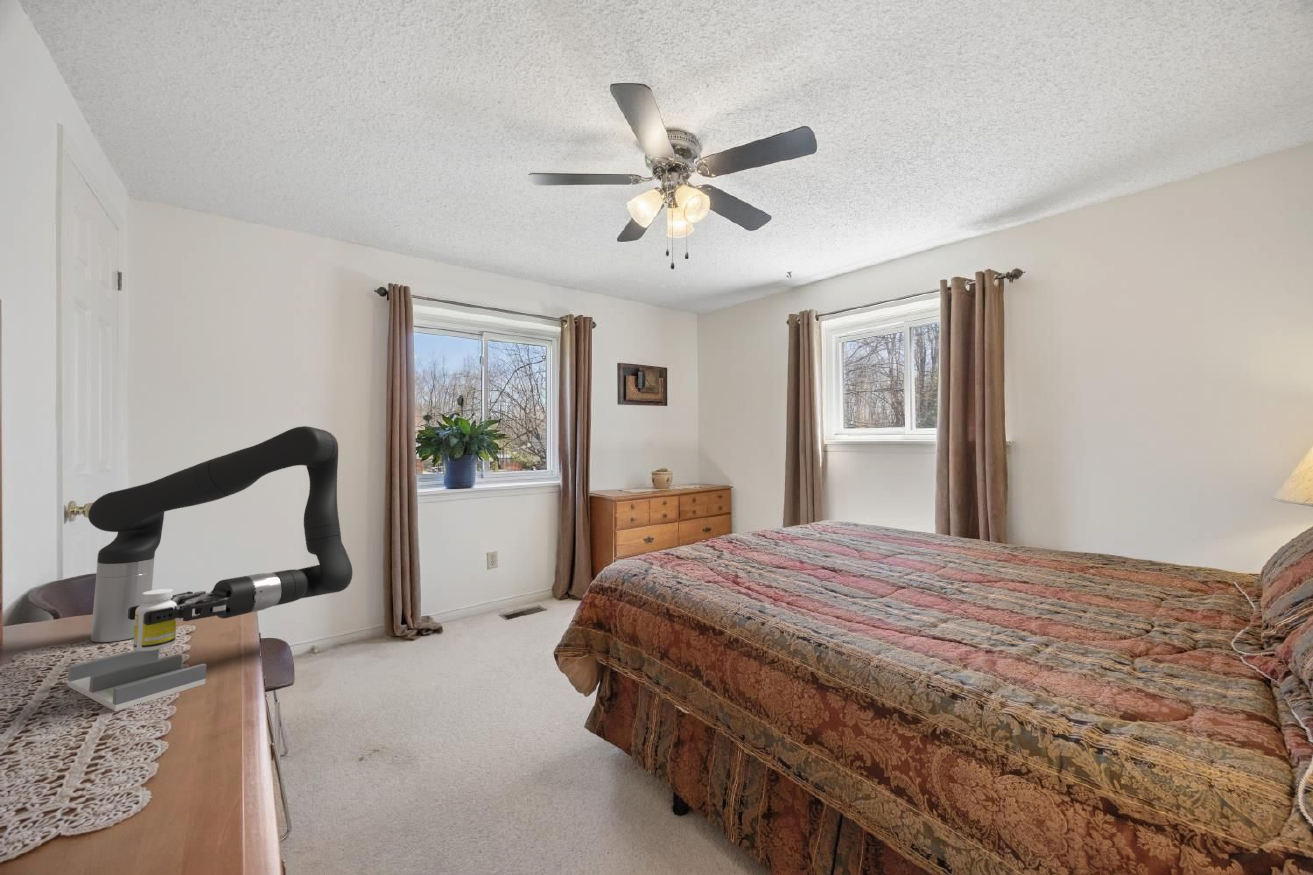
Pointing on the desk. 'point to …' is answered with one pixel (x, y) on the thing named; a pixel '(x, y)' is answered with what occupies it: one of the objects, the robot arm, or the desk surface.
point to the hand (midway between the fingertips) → (137, 616)
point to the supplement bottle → (154, 633)
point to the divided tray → (133, 678)
